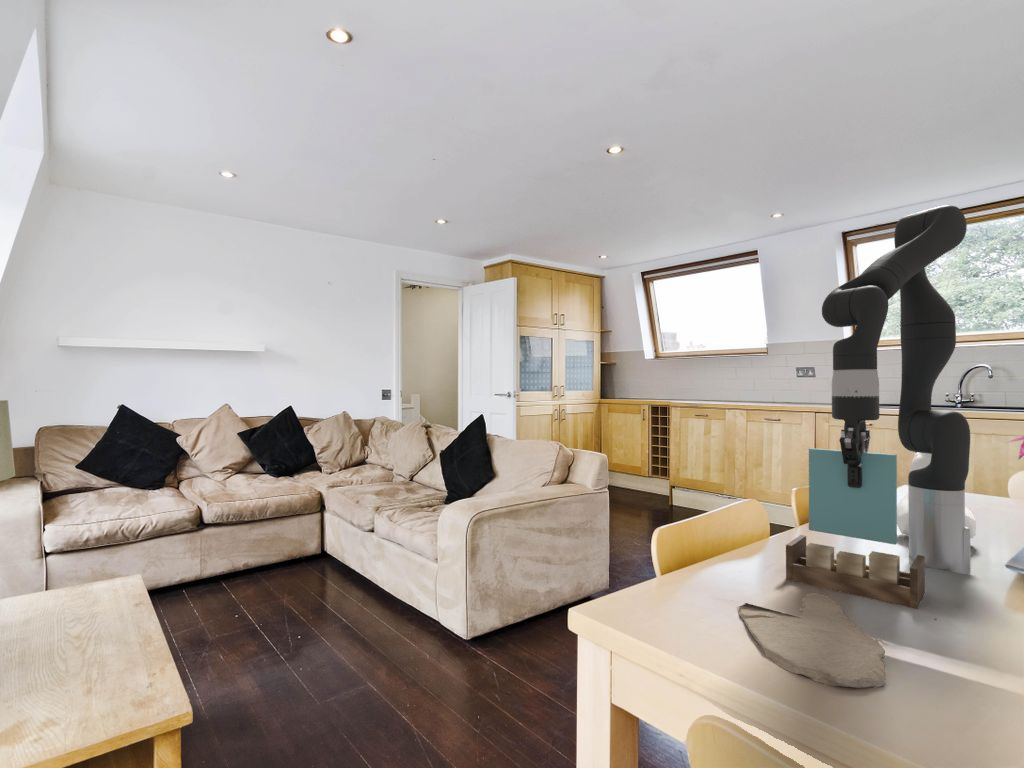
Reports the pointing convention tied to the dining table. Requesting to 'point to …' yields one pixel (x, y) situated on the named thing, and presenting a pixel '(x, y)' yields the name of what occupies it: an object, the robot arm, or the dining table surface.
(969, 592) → the dining table surface
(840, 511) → the teal sheet
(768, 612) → the stone tablet
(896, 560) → the offcut
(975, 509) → the dining table surface
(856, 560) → the block
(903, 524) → the decorative rooster
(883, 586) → the walnut rack
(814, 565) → the offcut
